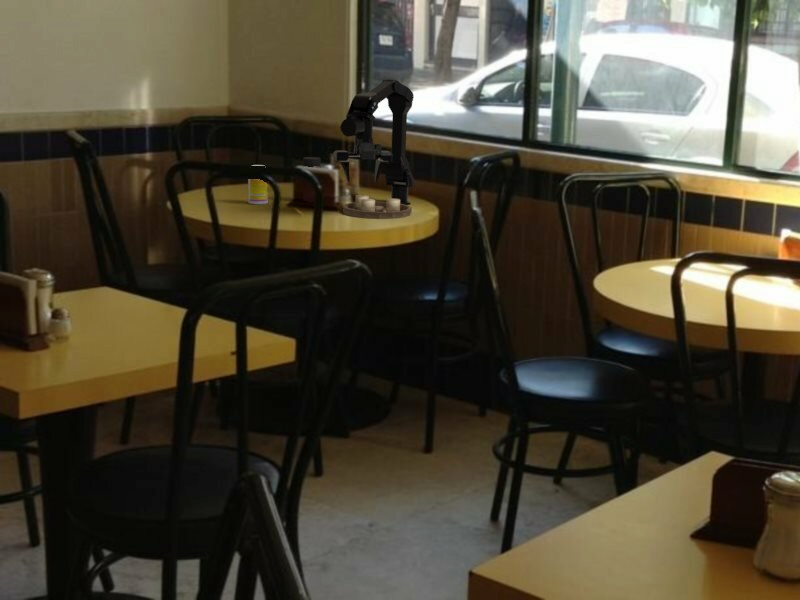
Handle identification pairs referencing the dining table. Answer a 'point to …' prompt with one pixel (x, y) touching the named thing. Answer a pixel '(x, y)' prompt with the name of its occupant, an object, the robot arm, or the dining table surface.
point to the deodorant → (311, 161)
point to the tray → (379, 214)
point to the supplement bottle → (257, 191)
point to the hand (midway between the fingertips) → (362, 182)
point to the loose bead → (359, 201)
